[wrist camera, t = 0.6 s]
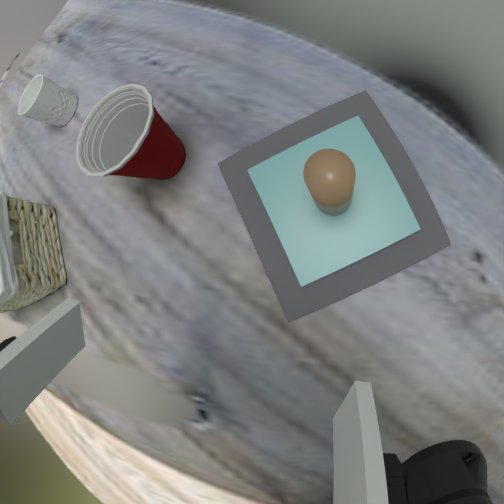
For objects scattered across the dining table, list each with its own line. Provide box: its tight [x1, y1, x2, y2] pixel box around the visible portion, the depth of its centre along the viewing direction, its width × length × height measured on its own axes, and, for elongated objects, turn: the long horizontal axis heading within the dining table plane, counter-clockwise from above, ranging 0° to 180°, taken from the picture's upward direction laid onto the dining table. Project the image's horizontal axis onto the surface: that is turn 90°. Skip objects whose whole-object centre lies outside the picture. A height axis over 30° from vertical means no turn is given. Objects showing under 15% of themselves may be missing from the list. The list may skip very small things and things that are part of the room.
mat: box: [218, 91, 451, 322], centre depth 32 cm, size 20×20×1 cm
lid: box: [247, 116, 420, 287], centre depth 27 cm, size 14×14×10 cm
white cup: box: [18, 75, 78, 127], centre depth 41 cm, size 8×8×10 cm
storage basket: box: [0, 192, 66, 313], centre depth 40 cm, size 24×16×15 cm
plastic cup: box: [76, 84, 186, 179], centre depth 32 cm, size 11×11×12 cm
